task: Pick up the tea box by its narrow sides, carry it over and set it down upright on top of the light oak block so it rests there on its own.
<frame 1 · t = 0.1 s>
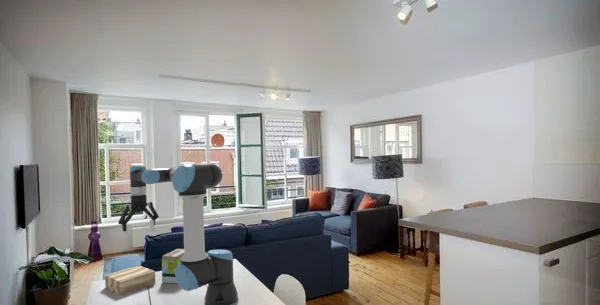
hand: (139, 234, 170), 28 cm above the table, tool pointing down, fingers open, 13 cm apart
oak block: (130, 286, 173), on the table
tea box: (177, 278, 181), on the table
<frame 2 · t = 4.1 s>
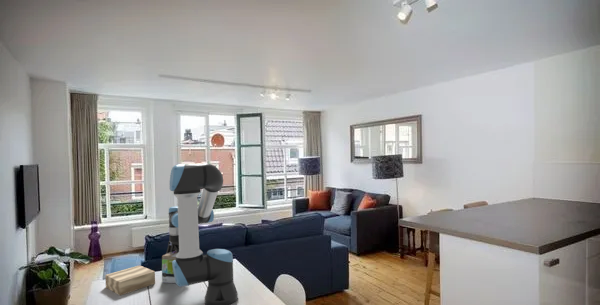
hand: (177, 271, 181), 3 cm above the table, tool pointing down, fingers closed on tea box, 12 cm apart
tea box: (177, 278, 181), on the table, touching gripper
everything else where it was.
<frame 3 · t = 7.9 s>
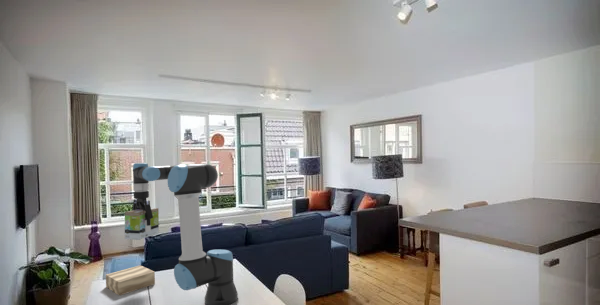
hand: (142, 230, 176), 29 cm above the table, tool pointing down, fingers closed on tea box, 12 cm apart
tea box: (142, 236, 176), point 25 cm above the table, touching gripper
everything else where it was.
when the fingers open (12 cm above the table, at t = 12.0 s): tea box drops 2 cm, resting on oak block.
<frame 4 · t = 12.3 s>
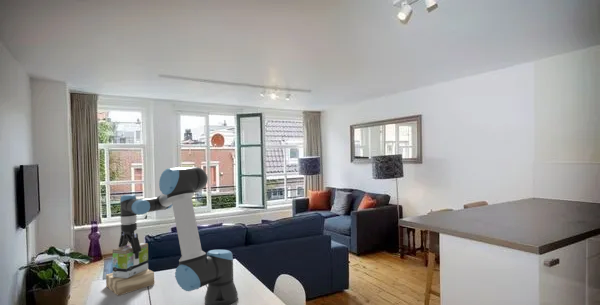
hand: (130, 262, 173), 12 cm above the table, tool pointing down, fingers open, 13 cm apart
oak block: (130, 286, 173), on the table, touching tea box
tea box: (131, 273, 173), point 6 cm above the table, touching oak block
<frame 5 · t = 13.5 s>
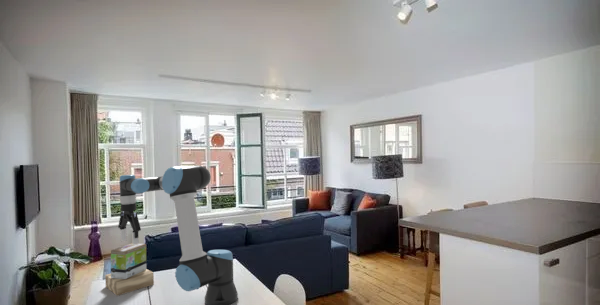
hand: (129, 242, 173), 23 cm above the table, tool pointing down, fingers open, 13 cm apart
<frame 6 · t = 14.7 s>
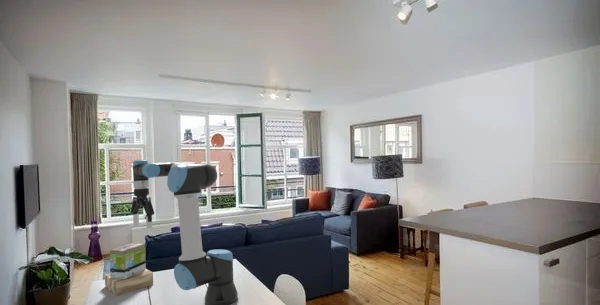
hand: (142, 226, 176), 31 cm above the table, tool pointing down, fingers open, 13 cm apart
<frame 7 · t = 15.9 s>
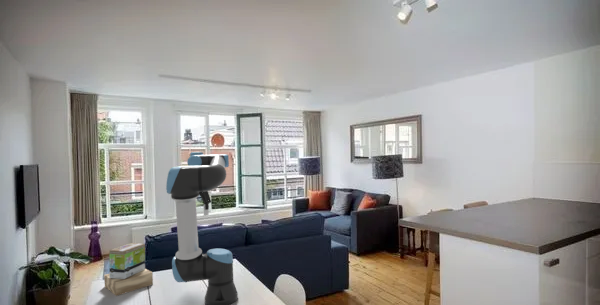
hand: (198, 214, 188), 35 cm above the table, tool pointing down, fingers open, 13 cm apart
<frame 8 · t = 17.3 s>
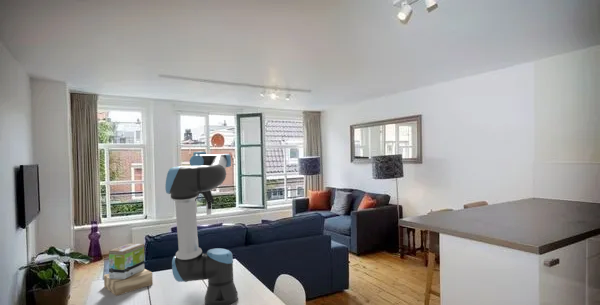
hand: (201, 213, 188), 35 cm above the table, tool pointing down, fingers open, 13 cm apart
at the end: tea box inside the target area on the oak block (0.6 cm from its centre), point 6.9 cm above the oak block's base; tea box tilted 0°; the gripper is holding nothing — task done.
